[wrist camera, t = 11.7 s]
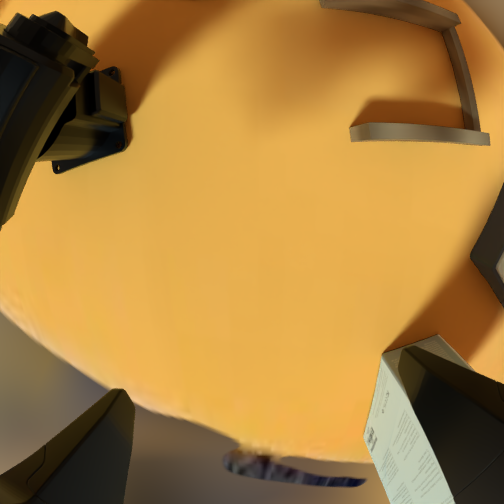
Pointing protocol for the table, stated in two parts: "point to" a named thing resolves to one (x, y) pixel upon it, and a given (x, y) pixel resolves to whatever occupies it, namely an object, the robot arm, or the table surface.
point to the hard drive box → (405, 435)
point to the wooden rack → (431, 16)
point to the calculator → (492, 249)
